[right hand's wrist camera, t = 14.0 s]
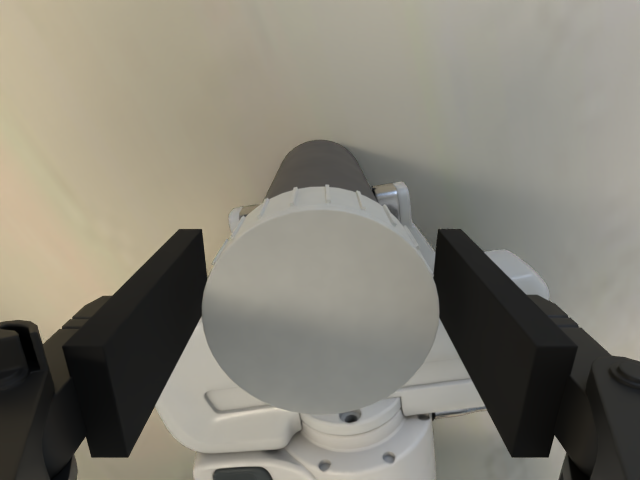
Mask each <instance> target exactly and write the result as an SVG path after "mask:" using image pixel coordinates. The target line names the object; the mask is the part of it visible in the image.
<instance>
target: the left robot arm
mask: <svg viewBox="0 0 640 480" xmlns="http://www.w3.org/2000/svg"><path fill="white" fill-rule="evenodd" d="M372 192H373V194H374V196H375V198H376V200H377V202H378V203H379V204H380V205H381V206H383V205H384V204H385V205H386V206H387V207H388V209H389V211H390V213H391V214H392V215H394V216H395V217H396V218H397V219H398V221H399V222H400V223H401V224H402V226H404V225H406V226H407V228H408V229H409V231H410V232H411V234H412V236H413V237H414V239H415V240H416V242H417V244H418V245H419V247H420V249H419V251H420V253H421V254H422V256H423V257H424V259H425V261H426V262H427V264H428V266H429V267H430V269H431V271H432V272H434V263H435V254H436V253H435V251H434V250H433V249H432V247H431V246H430V244H429V243H428V241H427V240H426V239H425V237H424V236H423V235H422V234H421V232H420V231H419V230H418V228H417V227H416V226H415V224H414V223H413V222H412V218H411V206H410V195H409V191H408V188H407V186H406V185H405V183H404V182H403V181H401V182H395V183H389V184H383V185H377V186H372ZM259 205H261V204H258V205H250V206H242V207H237V208H233V209H232V211H231V212H230V214H229V226H230V230H231V234H232V232H233V231H234V229H235V227H236V226H237V224H238V222H239V221H240V219H241V217H242V216H244V217H246V216H247V215H248V214H249V213H250V212H252V211H253V210H254V209H255V208H257V207H258V206H259ZM484 253H485V254H486V255H487V256H488V257H489V258H490V259H491V260H492V261H493V262H494V263H495V264H496V265H497V266H498V267H499V268H500V269H501V270H502V271H503V272H504V273H505V274H506V275H507V276H508V277H509V278H510V279H511V280H512V281H513V282H514V283H515V284H516V285H517V286H518V287H519V288H520V289H521V290H522V291H523V292H524V293H525V294H526V295H539V296H541V297H543V298H545V299H547V300H548V301H549V298H550V296H549V289H548V286H547V285H546V283H545V281H544V280H543V279H542V278H541V277H540V275H539V274H538V273H537V272H536V271H535V270H534V269H533V268H532V267H531V266H529V265H528V264H527V263H526V262H524V261H523V260H522V259H520V258H519V257H518V256H516V255H515V254H513V253H512V252H510V251H508V250H504V249H502V250H492V251H485V252H484ZM155 408H156V410H157V412H158V414H159V416H160V418H161V419H162V421H163V423H164V425H165V426H166V428H167V429H168V431H169V432H170V434H171V435H172V436H173V437H174V438H175V439H176V440H177V441H178V442H179V443H181V444H182V445H183V446H185V447H187V448H189V449H191V450H193V451H196V456H195V461H194V466H193V478H194V480H436V461H435V449H434V435H433V426H432V421H433V420H434V419H437V418H438V419H439V418H447V417H456V416H462V415H466V414H470V413H474V412H479V411H487V409H486V407H485V405H484V403H483V401H482V399H481V397H480V395H479V393H478V391H477V390H476V388H475V386H474V384H473V382H472V380H471V378H470V376H469V374H468V372H467V370H466V368H465V366H464V365H463V363H462V361H461V359H460V357H459V355H458V353H457V351H456V349H455V347H454V345H453V343H452V341H451V340H450V338H449V336H448V334H447V332H446V330H445V328H444V326H443V324H442V322H441V320H440V318H439V324H438V329H437V333H436V337H435V341H434V343H433V345H432V348H431V350H430V353H429V354H428V356H427V358H426V360H425V361H424V363H423V364H422V366H421V367H420V368H419V370H418V371H417V372H416V373H415V375H414V376H413V377H412V378H411V379H410V380H409V381H408V382H407V383H406V384H404V385H403V386H402V387H401V388H399V389H398V390H397V391H395V392H394V393H392V394H391V395H389V396H387V397H386V398H384V399H382V400H380V401H378V402H376V403H374V404H372V405H369V406H366V407H363V408H361V409H357V410H353V411H349V412H345V413H337V414H322V415H315V414H303V413H297V412H292V411H287V410H284V409H280V408H277V407H274V406H272V405H269V404H267V403H265V402H262V401H260V400H259V399H257V398H255V397H253V396H251V395H250V394H248V393H247V392H246V391H244V390H243V389H241V388H240V387H239V386H238V385H237V384H235V383H234V382H233V381H232V380H231V379H230V378H229V377H228V376H227V375H226V373H225V372H224V371H223V370H222V369H221V367H220V366H219V364H218V363H217V361H216V360H215V358H214V357H213V355H212V352H211V350H210V348H209V346H208V343H207V340H206V337H205V334H204V329H203V323H202V316H201V318H200V320H199V322H198V324H197V326H196V328H195V330H194V332H193V334H192V336H191V338H190V340H189V341H188V343H187V345H186V347H185V349H184V351H183V353H182V355H181V357H180V359H179V361H178V363H177V365H176V366H175V368H174V370H173V372H172V374H171V376H170V378H169V380H168V382H167V384H166V386H165V388H164V390H163V391H162V393H161V395H160V397H159V399H158V401H157V403H156V405H155Z"/></svg>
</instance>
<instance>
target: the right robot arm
mask: <svg viewBox="0 0 640 480" xmlns="http://www.w3.org/2000/svg"><path fill="white" fill-rule="evenodd" d="M433 275H434V277H433V279H434V282H435V285H436V289H437V293H438V298H439V318H440V320H441V322H442V324H443V326H444V328H445V330H446V332H447V334H448V336H449V338H450V340H451V341H452V343H453V345H454V347H455V349H456V351H457V353H458V355H459V357H460V359H461V361H462V363H463V365H464V366H465V368H466V370H467V372H468V374H469V376H470V378H471V380H472V382H473V384H474V386H475V388H476V390H477V391H478V393H479V395H480V397H481V399H482V401H483V403H484V405H485V407H486V409H487V411H488V413H489V415H490V416H491V418H492V420H493V422H494V424H495V426H496V428H497V430H498V432H499V434H500V436H501V438H502V440H503V441H504V443H505V445H506V447H507V449H508V451H509V453H510V455H511V457H549V454H550V450H551V446H552V442H553V439H554V435H555V436H556V438H557V439H558V440H559V442H560V443H561V445H562V446H563V448H564V449H565V451H566V456H565V459H564V463H563V466H562V470H561V473H560V476H559V480H640V362H639V361H636V360H632V359H629V358H626V357H618V356H611V355H610V354H609V353H608V352H607V351H606V350H605V349H604V348H603V347H602V346H601V345H599V344H598V343H597V342H596V341H595V340H594V339H593V338H592V337H591V336H590V335H589V334H587V333H586V332H585V331H584V330H583V329H582V328H579V327H578V324H577V323H575V322H574V321H573V320H572V319H571V318H568V315H567V314H566V313H565V312H563V311H562V310H561V309H560V308H559V307H558V306H557V305H556V304H554V303H552V302H550V301H548V300H547V299H545V298H543V297H541V296H539V295H526V294H525V293H524V292H523V291H522V290H521V289H520V288H519V287H518V286H517V285H516V284H515V283H514V282H513V281H512V280H511V279H510V278H509V277H508V276H507V275H506V274H505V273H504V272H503V271H502V270H501V269H500V268H499V267H498V266H497V265H496V264H495V263H494V262H493V261H492V260H491V259H490V258H489V257H488V256H487V255H486V254H485V253H484V252H483V251H482V250H481V249H480V248H479V247H478V246H477V245H476V244H475V243H474V242H473V241H472V240H471V239H470V238H469V237H468V236H467V235H466V234H465V233H464V232H463V231H462V230H461V229H438V236H437V245H436V254H435V263H434V272H433ZM206 282H207V272H206V263H205V254H204V245H203V236H202V229H179V230H178V231H177V232H176V233H175V234H174V235H173V236H172V237H171V238H170V239H169V240H168V241H167V242H166V243H165V244H164V245H163V246H162V247H161V248H160V249H159V250H158V251H157V252H156V253H155V254H154V255H153V256H152V257H151V258H150V259H149V260H148V261H147V262H146V263H145V264H144V265H143V266H142V267H141V268H140V269H139V270H138V271H137V272H136V273H135V274H134V275H133V276H132V277H131V278H130V279H129V280H128V281H127V282H126V283H125V284H124V285H123V286H122V287H121V288H120V289H119V290H118V291H117V292H116V293H115V294H114V295H113V296H102V297H100V298H98V299H96V300H95V301H93V302H91V303H89V304H87V305H85V306H84V307H83V308H82V309H81V310H80V311H78V312H77V313H76V314H75V315H74V316H73V317H72V319H70V320H69V321H68V322H67V323H65V324H64V325H63V326H62V329H59V330H58V331H57V332H56V333H55V334H54V335H52V336H51V337H50V338H49V339H48V340H47V341H46V342H45V343H44V344H42V341H41V337H40V334H39V330H38V327H37V325H36V324H34V323H32V322H31V321H22V320H15V321H5V322H0V480H77V473H78V470H77V463H76V459H75V456H74V453H75V452H76V450H77V449H78V447H79V446H80V444H81V443H82V441H83V440H84V438H85V437H86V439H87V442H88V446H89V450H90V454H91V457H129V455H130V453H131V451H132V449H133V447H134V445H135V443H136V441H137V440H138V438H139V436H140V434H141V432H142V430H143V428H144V426H145V424H146V422H147V420H148V418H149V416H150V415H151V413H152V411H153V409H154V407H155V405H156V403H157V401H158V399H159V397H160V395H161V393H162V391H163V390H164V388H165V386H166V384H167V382H168V380H169V378H170V376H171V374H172V372H173V370H174V368H175V366H176V365H177V363H178V361H179V359H180V357H181V355H182V353H183V351H184V349H185V347H186V345H187V343H188V341H189V340H190V338H191V336H192V334H193V332H194V330H195V328H196V326H197V324H198V322H199V320H200V318H201V316H202V300H203V293H204V289H205V286H206Z"/></svg>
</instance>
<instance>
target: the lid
mask: <svg viewBox="0 0 640 480" xmlns="http://www.w3.org/2000/svg"><path fill="white" fill-rule="evenodd" d="M229 238H230V239H229V240H228V239H226V241H225V242H224V244H223V246H222V247H221V249H220V250H219V252H218V254H217V255H216V257H215V259H214V260H213V262H212V265H214V266H213V268H212V271H211V273H210V275H209V277H208V279H207V282H206V286H205V289H204V293H203V300H202V323H203V329H204V334H205V337H206V340H207V343H208V346H209V348H210V350H211V352H212V355H213V357H214V358H215V360H216V361H217V363H218V364H219V366H220V367H221V369H222V370H223V371H224V372H225V373H226V375H227V376H228V377H229V378H230V379H231V380H232V381H233V382H234V383H235V384H237V385H238V386H239V387H240V388H241V389H243V390H244V391H246V392H247V393H248V394H250V395H251V396H253V397H255V398H257V399H259V400H260V401H262V402H265V403H267V404H269V405H272V406H274V407H277V408H280V409H284V410H287V411H292V412H297V413H303V414H315V415H322V414H337V413H345V412H349V411H353V410H357V409H361V408H363V407H366V406H369V405H372V404H374V403H376V402H378V401H380V400H382V399H384V398H386V397H387V396H389V395H391V394H392V393H394V392H395V391H397V390H398V389H399V388H401V387H402V386H403V385H404V384H406V383H407V382H408V381H409V380H410V379H411V378H412V377H413V376H414V375H415V373H416V372H417V371H418V370H419V368H420V367H421V366H422V364H423V363H424V361H425V360H426V358H427V356H428V354H429V353H430V350H431V348H432V345H433V343H434V341H435V337H436V333H437V329H438V324H439V298H438V293H437V289H436V285H435V282H434V279H433V277H434V275H433V272H432V271H431V269H430V267H429V266H428V264H427V262H426V261H425V259H424V257H423V256H422V254H421V253H420V251H419V249H420V247H419V245H418V244H417V242H416V240H415V239H414V237H413V236H412V234H411V232H410V231H409V229H408V228H407V226H406V225H404V226H402V224H401V223H400V222H399V221H398V219H397V218H396V217H395V216H394V215H392V214H391V213H390V211H389V209H388V207H387V206H386V205H385V204H384V205H383V206H381V205H380V204H379V203H377V202H375V201H374V200H372V199H370V198H368V197H366V196H364V195H361V193H360V191H356V192H353V191H349V190H345V189H341V188H334V187H329V185H325V187H307V188H300V189H298V188H297V187H294V188H293V190H292V191H288V192H285V193H282V194H280V195H277V196H275V197H273V198H271V199H268V198H266V199H264V201H263V203H262V204H261V205H259V206H258V207H257V208H255V209H254V210H253V211H252V212H250V213H249V214H248V215H247V216H246V217H244V216H242V217H241V219H240V221H239V222H238V224H237V226H236V227H235V229H234V231H233V232H232V234H231V236H230V237H229Z"/></svg>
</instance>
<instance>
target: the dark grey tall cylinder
mask: <svg viewBox="0 0 640 480" xmlns="http://www.w3.org/2000/svg"><path fill="white" fill-rule="evenodd" d="M325 185H329V187H334V188H341V189H345V190H349V191H353V192H356V191H360V193H361V195H364V196H366V197H368V198H370V199H372V200H374V201H375V202H377V200H376V198H375V196H374V194H373V192H372V190H371V188H370V186H369V184H368V182H367V180H366V178H365V176H364V174H363V172H362V170H361V168H360V166H359V164H358V162H357V161H356V159H355V158H354V156H353V155H352V154H351V153H350V152H349V151H348V150H347V149H346V148H344V147H343V146H341V145H339V144H337V143H334V142H331V141H327V140H314V141H309V142H305V143H303V144H301V145H299V146H297V147H296V148H294V149H293V150H292V151H291V152H290V153H289V154H288V155H287V156H286V157H285V159H284V160H283V162H282V164H281V166H280V168H279V170H278V172H277V174H276V176H275V178H274V180H273V182H272V184H271V186H270V188H269V190H268V192H267V195H266V197H265V199H266V198H268V199H271V198H273V197H275V196H277V195H280V194H282V193H285V192H288V191H292V190H293V188H294V187H297V188H298V189H300V188H307V187H325ZM377 203H378V202H377Z"/></svg>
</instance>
